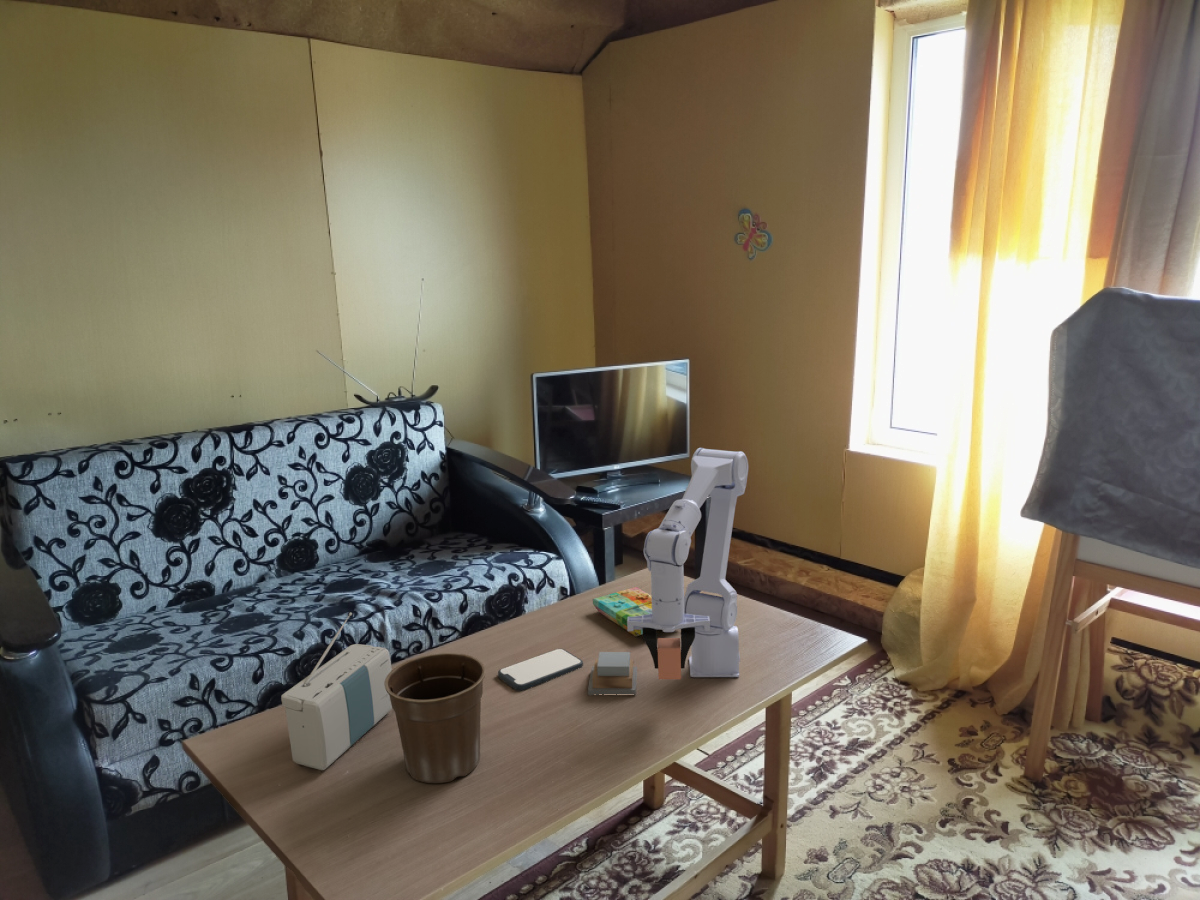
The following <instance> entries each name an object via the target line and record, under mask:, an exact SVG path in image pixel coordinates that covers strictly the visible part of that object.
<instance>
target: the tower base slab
mask: <svg viewBox="0 0 1200 900" xmlns="http://www.w3.org/2000/svg"><path fill="white" fill-rule="evenodd" d="M593 671H594V666H591V671H590V675H589V682H588V687H587V696H588V695H594V694H596V695H599V694H602V695H604V694H616V695H617V694H634V695H636V694H637V682H636V680H637V679H638V678H637V677H638V666H633V683H632V688H593V681H592V678H593ZM636 696H637V695H636Z"/></svg>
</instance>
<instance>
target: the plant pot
mask: <svg viewBox="0 0 1200 900" xmlns="http://www.w3.org/2000/svg"><path fill="white" fill-rule="evenodd" d="M485 676H486V666H485V664H484V663H483V662H482V661H481V660H480V659H478V658H476V657H475V656H472V655H469V654H465V653H461V652H460V653H459V652H439V653H431V654H426V655H421V656H418V657H415V658H411V659H409V660H407V661H405V662H403V663H400V664H399V665H398V666H396V667H395V668H393V669H392V671H391V672H390V673H389V674H388V675H387V677H386V679H385V682H384V685H385V689H386V691H387V693H388V694H389V696H390V700H391V705H392V708H393V709H392V710H393V712H394V713H395V718H396V723H397V724H396V725H397V729H398V732H399V738H400V742H401V748H402V751H403V752H402V753H403V757H404V762H405V763H404V764H405V768H406V771H407V772H408V773H409V775H410V776H411V778H413V779H414V780H416V781H418V782H421V783H426V784H443V783H445V784H446V783H450V782H453V781H454V780H455V779H456V778H458V777H465V776H467V775H469V774H470V773H471V772H472V771H473V770H475V769H476V767H477V766H478V764H479V762H480V759H481V712H482V711H481V709H482V707H481V706H482V705H481V701H482V696H483V692H484V691H483V690H484V689H483V687H484V682H483V681H484V679H485Z"/></svg>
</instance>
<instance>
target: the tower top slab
mask: <svg viewBox="0 0 1200 900" xmlns="http://www.w3.org/2000/svg"><path fill="white" fill-rule="evenodd" d="M597 660H598V666H597V670H598V676H629V671H630V660H631V651H599V653H598V659H597Z"/></svg>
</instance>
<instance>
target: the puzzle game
mask: <svg viewBox="0 0 1200 900" xmlns="http://www.w3.org/2000/svg"><path fill="white" fill-rule="evenodd" d="M592 604H593V606H594V607H595V609H596V610H597V611H598V612H599V613H600V614H601V615H603V616H604V617H606V618H607V619H609V620H610V621H611V622H613V623H615V624H617V626H619V627H620V628H623V629H624V630H625V631H626V632H628V633H630V634H632V635H633V636H634V637H639V636H642V635H643V631H642V629H641V630H634V631H628V628H627V619H628V617H634V616H641V615H647V614H652V595H651V594H649V593H648V592H646V591H644V590H642V589H640V588H639V587H637V586H634V587H631V588H627V589H623V590H619V591H617V592H614V593H609V594H605V595H602V596H599V597H595V598H592ZM658 630H659V629H657V631H658Z"/></svg>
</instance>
